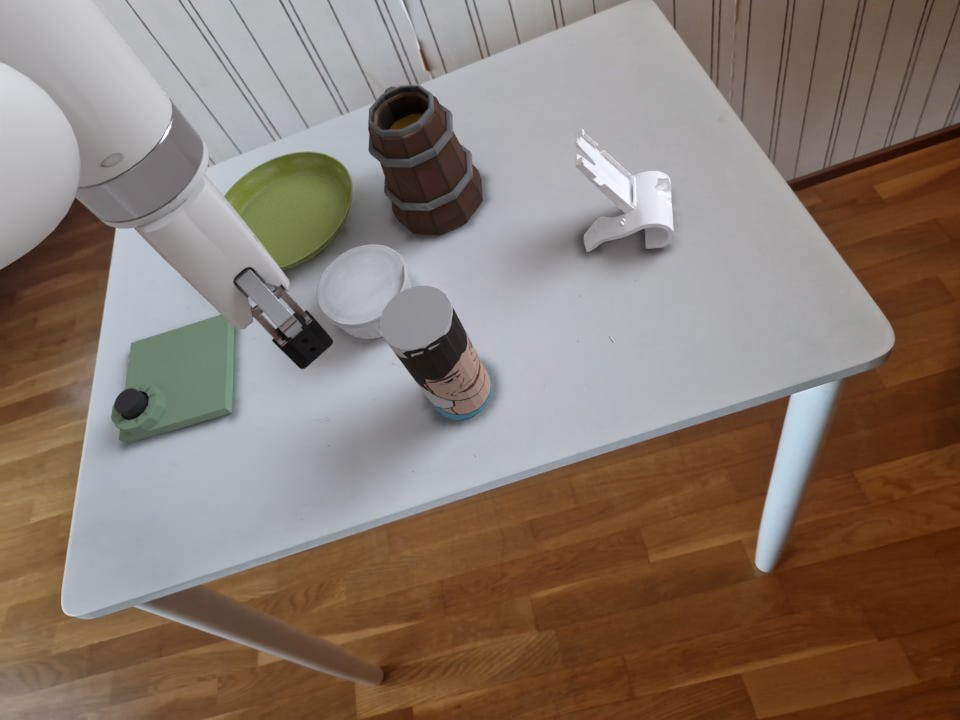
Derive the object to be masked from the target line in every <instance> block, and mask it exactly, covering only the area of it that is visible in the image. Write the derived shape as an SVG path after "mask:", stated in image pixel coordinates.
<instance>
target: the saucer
mask: <svg viewBox="0 0 960 720" xmlns="http://www.w3.org/2000/svg"><path fill="white" fill-rule="evenodd" d="M352 179H353V178H352V177H351V174H350V172H349V170H348V169H347V167H346V166H345V164H343V163H342V162H341V160H339V159H337V158H335V157H334V156H332V155H330V154H327V153H323V152H319V151H318V152H317V151H296V152H291V153H286V154H281V155H279V156H276V157H274V158H272V159H271V158H270V159H269V160H267V161H265V162H262V163H261V164H259V165H258V166H256V167H254V168H253V169H251V170H250V171H248V172H247V173H245V174H244V175H243V176H242V177H240V178H239V179H238V180H237V181H236V182H235V183H234V184H233V185H232V186H231V187H230V188H229V189H228V190H227V191H226V192H225V194H224V195H223V196H224V197H225V198H226V199H227V201H228V202H229V203H230V204H231V206H232V207H233V208H234V209H235V210H236V212H237V213H238V214H239V215H240V217H241V218H242V219H243V220H244V222H245V223H246V224H247V225H248V227H249V228H250V229H251V230H252V232H253V233H254V234H255V236H256V237H257V238H258V239H259V241H260V242H261V243H262V245H263V246H264V247H265V249H266V250H267V251H268V253H269V254H270V255H271V257H272V258H273V259H274V261H275V262H276V263H277V265H278V266H279V267H280V269H281V270H282V271H285V270H289V269H292V268H295V267H297V266H299V265H302V264H303V263H306V262H308V261H309V260H311V259H313V258H314V257H316V256H317V255H318V254H319V253H321V252H322V251H324V249H326V248H327V247H328V246H329V245H330V244H331V243H332V242H333V241H334V239H335V238H336V237H337V236H338V234H339V233H340V231H341V230H342V228H343V227H344V225H345V223H346V221H347V218H348V216H349V213H350V210H351V207H352V203H353V194H354V193H353V192H354V186H353V185H354V184H353V180H352Z"/></svg>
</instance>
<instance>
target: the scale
mask: <svg viewBox="0 0 960 720" xmlns="http://www.w3.org/2000/svg"><path fill="white" fill-rule="evenodd" d="M235 330H236V328H234V327H233V326H232V325H231V324H230V323H229V322H228V321H227V320H226V319H225V318H224V317H223V316H222V315H221V314H218V315H215V316H212V317H209V318H206V319H203V320H200V321H199V320H198V321H195V322H193V323H190V324H187V325H184V326H180V327H177V328H174V329H171V330H168V331H165V332H162V333H161V332H160V333H158V334H155V335H152V336H148V337H145V338H142V339H138V340H136V341H132V342H130V348H129V357H128V365H127V373H126V380H125V389H124V390H126V389H129V388H134V389H136V390H138V391H139V392H141V393H142V394H144V395H145V396H146V397H147V398H148V406H147V408H146V409H145V411H144V412H143V413H142V414H141V415H140V416H139V417H137V418H134V419H129V418H127V417H125V416H123V415H122V414H120V413H118V412H117V411H116V410H115V408H114V404H113V405H112V407H111V414H110V415H111V416H110V419H111V421H112V422H113V424H114V426H115V428H117V429H118V430H119V435H118V440H119V441H120V442H122V443H125V444H126V445H128V444H131V443H136V442H139V441H143V440H145V439H148V438H149V439H150V438H153V437H156V436H159V435H163V434H167V433H169V432H172V431H176V430H179V429H182V428H187V427H190V426H193V425H196V424H201V423H203V422H207V421H211V420H214V419H217V418H221V417H224V416H227V415H230V414H233V399H234V395H233V394H234V367H235V366H234V363H235V361H234V359H235Z"/></svg>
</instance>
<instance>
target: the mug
mask: <svg viewBox="0 0 960 720" xmlns="http://www.w3.org/2000/svg"><path fill="white" fill-rule="evenodd" d="M453 120H454V118H453V113H452V111H451V110H450V109H449V108H447V107H446V106H444V105H442V104H441V103H440V101H439V100H438V98H437V97H436V96H435V95H434V94H433V93H432V92H430V91H429V90H428V89H426V88H425V87H424V86H422V85H420V84H410V85H409V84H408V85H406V84H405V85H398V86H393V85H392V86H389V87H387V88H385V90H384V92H383V93H382V94H380V95H379V97H378V98H377V99H376V100H375V101H374V102H373V104H372V105H371V106H370V107H369V108H368V121H367V122H368V123H367V125H368V126H367V131H368V148H367V149H368V150H367V151H368V152H369V154H370V156H372V157H373V158H374V159H375V160H377V162H379V164H380V167H381V169H382V173H383V175H384V183H383V184H384V185H383V193H384V195H385V196H386V197H387V198H388V199H389V200H390V201H391V211H392V213H393V215H394V216H395V218H396V220H398V222H399V223H401V225H402V226H404V227H405V228H406V229H407V230H408V231H409V232H410V233H411V234H414V235H415V234H416V235H433V236H441V235H443V234H445V233H447V232H449V231H451V230H453V229H456V228H458V227H460V226H462V225H464V224H466V223H468V221H470V219H471V218H472V216H473V215H474V214H475V212H476V210H477V209H478V208H479V207H480V206H481V204H482V203H483V202H484V200H483V182H482V177H481V175H480V171H479V169H478V168H477V167H476V166H474V164H473V155H472V151H470V150H469V149H468V148H466V147H465V146H464V145H462V144H461V143H460V141H459V139H458V137H457V135H456V134H455V131H454V122H453Z"/></svg>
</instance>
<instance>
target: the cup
mask: <svg viewBox="0 0 960 720" xmlns="http://www.w3.org/2000/svg"><path fill="white" fill-rule="evenodd" d="M380 330H381V333H382V335H383V337H382V338H383V339H384V340H385V342H386V344H387V345H388V347H390V349H391V350H392V352H393V353H394V354H395V355H396V357H397V358H398V360H399V361H400V362H401V364H402V365H403V367H404V368H405V369H406V371H407V372H408V373H409V375H410V376H411V377H412V379H413V380H414V381H415V383H416V385H417V386H418V387H419V388H420V390H421V391H422V392H423V394H424V395H425V396H426V398H427V399H428V401H429V402H430V403H431V405H432V406H433V407H434V409H435V410H436V412H438V413H439V414H440V415H441V416H443V417H444V418H447V419H450V420H454V421H455V420H456V421H457V420H458V421H462V420H466V419H470V418H473V417H474V416H476V415H478V414H479V413H481V412H482V411H483V409H484V408H486V406H488V403H489V401H490V399H491V397H492V391H493V384H492V378H491V377H490V375H489V373H488V371H487V370H486V367H485V366H484V364H483V361H482V360H481V358H480V356H479V354H478V352H477V350H476V348H475V346H474V345H473V342H472V340H471V339H470V337H469V335H468V333H467V332H466V329H465V328H464V325H463V324H462V322H461V319H460V318H459V316H458V313H457V312H456V310H455V308H454V306H453V304H452V302H451V301H450V298H449V297H448V296H447V294H446V293H445V292H444V291H442V290H441V289H440V288H438V287H434V286H431V285H415V286H412V288H408V289H406V290H404V291H402V292H400V293H399V294H397V295H396V296H395V297H394V298H392V299H391V300H390V301H389V302H388V304H387V305H386V307H385V309H384V310H383V312H382V316H381V319H380Z"/></svg>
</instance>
